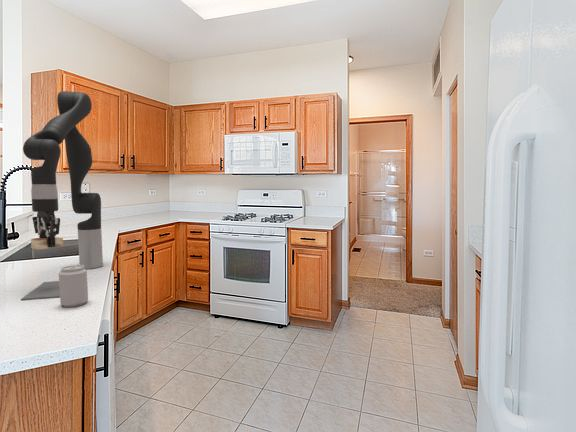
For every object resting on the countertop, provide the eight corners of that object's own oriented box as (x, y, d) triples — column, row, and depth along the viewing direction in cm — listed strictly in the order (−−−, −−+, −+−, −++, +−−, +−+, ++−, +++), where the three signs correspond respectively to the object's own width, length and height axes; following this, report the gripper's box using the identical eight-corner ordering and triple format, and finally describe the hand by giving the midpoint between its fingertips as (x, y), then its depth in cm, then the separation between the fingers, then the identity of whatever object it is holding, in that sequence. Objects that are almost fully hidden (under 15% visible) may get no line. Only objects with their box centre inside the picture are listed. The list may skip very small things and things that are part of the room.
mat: (44, 283, 133) (44, 281, 133) (85, 280, 137) (85, 279, 137) (21, 300, 114) (20, 298, 114) (70, 296, 118) (69, 295, 118)
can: (56, 308, 107) (54, 270, 106) (65, 300, 114) (63, 264, 113) (84, 306, 109) (82, 268, 108) (91, 298, 116) (89, 263, 115)
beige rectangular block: (56, 244, 128) (55, 235, 128) (63, 246, 126) (62, 236, 126) (31, 248, 121) (30, 238, 121) (38, 249, 119) (37, 239, 119)
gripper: (67, 197, 122) (70, 246, 123) (45, 197, 129) (48, 243, 131) (43, 198, 115) (46, 250, 117) (22, 197, 123) (25, 246, 124)
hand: (47, 246), depth 124 cm, fingers closed on beige rectangular block, 4 cm apart
